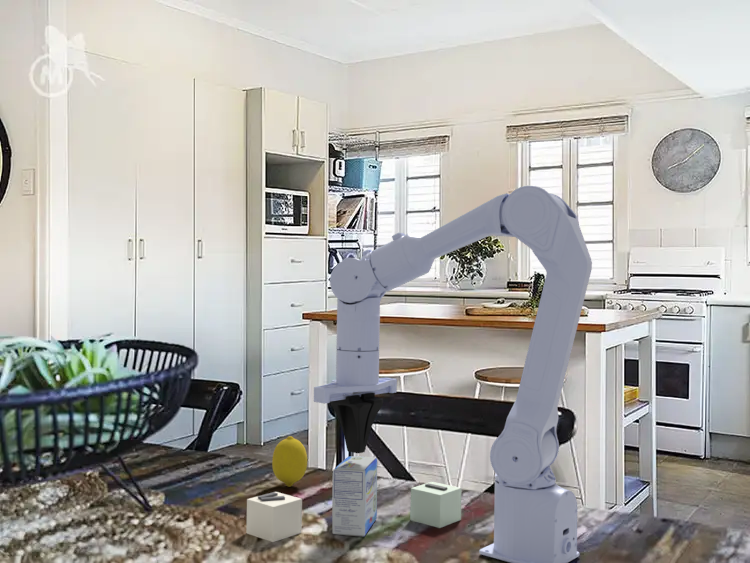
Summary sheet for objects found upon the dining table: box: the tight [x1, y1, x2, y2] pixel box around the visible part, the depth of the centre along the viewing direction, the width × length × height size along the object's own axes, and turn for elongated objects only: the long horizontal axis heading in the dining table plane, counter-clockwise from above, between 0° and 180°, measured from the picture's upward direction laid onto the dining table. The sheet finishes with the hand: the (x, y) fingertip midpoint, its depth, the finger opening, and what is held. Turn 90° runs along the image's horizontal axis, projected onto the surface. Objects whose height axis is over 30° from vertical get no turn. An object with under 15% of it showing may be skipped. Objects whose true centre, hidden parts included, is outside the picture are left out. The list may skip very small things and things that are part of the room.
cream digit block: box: [245, 491, 303, 543], centre depth 102 cm, size 5×5×5 cm
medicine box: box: [331, 455, 378, 538], centre depth 105 cm, size 8×4×9 cm, turn 168°
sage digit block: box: [409, 481, 462, 529], centre depth 109 cm, size 5×5×5 cm
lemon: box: [271, 435, 308, 487], centre depth 125 cm, size 6×6×8 cm
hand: (356, 451), depth 105 cm, fingers closed
